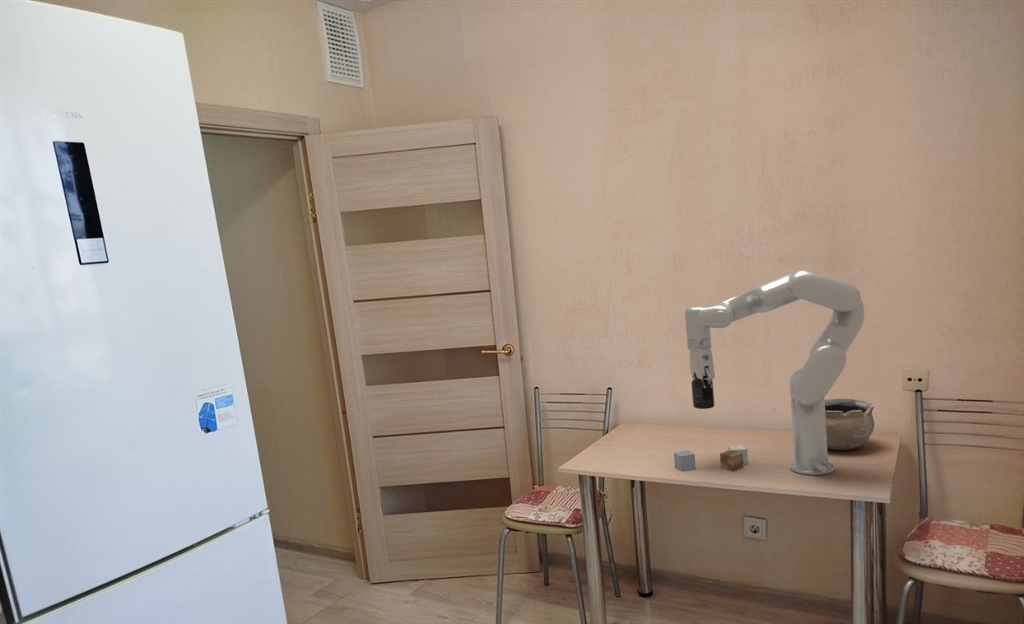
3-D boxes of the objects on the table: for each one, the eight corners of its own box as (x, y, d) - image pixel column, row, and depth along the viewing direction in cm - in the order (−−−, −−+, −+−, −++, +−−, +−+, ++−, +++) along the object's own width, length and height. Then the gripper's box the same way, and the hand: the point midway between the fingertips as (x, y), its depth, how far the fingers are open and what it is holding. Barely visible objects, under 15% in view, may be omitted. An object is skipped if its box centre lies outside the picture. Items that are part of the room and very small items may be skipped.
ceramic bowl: (835, 460, 206) (833, 414, 205) (790, 444, 227) (787, 402, 226) (891, 449, 212) (889, 405, 211) (841, 435, 233) (839, 394, 232)
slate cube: (695, 469, 210) (694, 454, 209) (681, 471, 209) (680, 456, 209) (688, 465, 215) (687, 450, 214) (674, 467, 214) (673, 452, 213)
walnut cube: (743, 468, 207) (742, 452, 206) (733, 471, 204) (732, 456, 204) (731, 464, 211) (730, 449, 211) (720, 468, 208) (719, 453, 208)
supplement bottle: (719, 407, 209) (716, 370, 208) (702, 410, 206) (699, 373, 205) (705, 403, 215) (703, 368, 214) (688, 407, 213) (686, 371, 212)
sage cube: (748, 464, 210) (747, 449, 210) (732, 465, 211) (731, 450, 210) (743, 459, 215) (743, 445, 215) (728, 460, 216) (727, 446, 215)
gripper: (720, 345, 201) (725, 401, 202) (700, 340, 218) (704, 391, 219) (697, 347, 200) (702, 403, 202) (679, 342, 218) (683, 394, 219)
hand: (703, 397), depth 210 cm, fingers closed on supplement bottle, 6 cm apart
